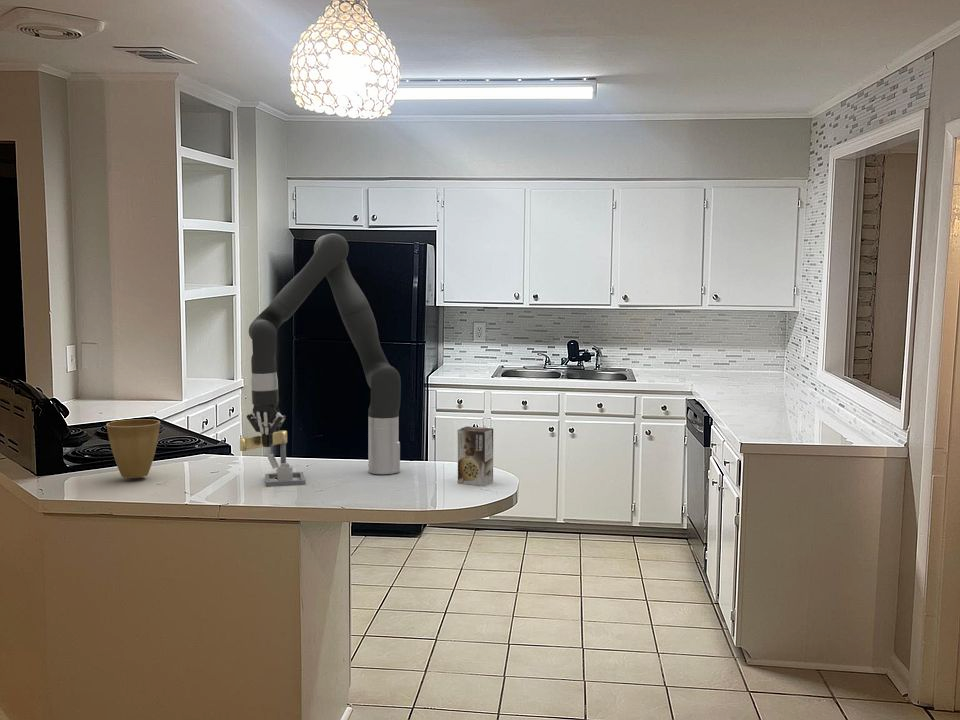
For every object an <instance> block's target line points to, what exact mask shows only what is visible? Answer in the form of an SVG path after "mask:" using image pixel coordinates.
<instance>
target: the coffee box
mask: <svg viewBox="0 0 960 720" xmlns="http://www.w3.org/2000/svg"><path fill="white" fill-rule="evenodd" d="M493 482H494V428H492V427H491V428H490V427H481V426H479V427H478V426H464V427H461V428H459V429H457V484H461V483H462V484H464V485H472V486H481V487H486V486H489V485H490V484H492V483H493Z"/></svg>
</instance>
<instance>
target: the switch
mask: <svg viewBox="0 0 960 720" xmlns="http://www.w3.org/2000/svg"><path fill="white" fill-rule="evenodd" d="M279 445H280V465H281V464H282V463H287V443H281V444H279ZM264 478H265V479H264V480H265V486H266V487H281V486H282V487H283V486H299V485H300V486H302V485H306V478H305V475H304V472H303V471H298V472H297V471H296V472H293V478H299V479H293V480H287V481H277V480H272V481H270V480H271V479H277V469H276V471H275V473H274V472H272V473H265V474H264Z"/></svg>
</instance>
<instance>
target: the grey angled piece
mask: <svg viewBox="0 0 960 720" xmlns="http://www.w3.org/2000/svg"><path fill="white" fill-rule="evenodd" d="M266 457H267V459H268V462H269V463H270V465H271V467H272V469H273V470H274V469H276V470H277V472H276V473H277V478H276V481H287V480H294V479H293V478H294V477H293V470H294V469H293V465H292V466H291V465H290V464H289V463H288V462H286V463H282V464H281V463H280V465H279V463H278V461H277V459H276V456H275V455H274V453H271V454H268V455H267V456H266Z"/></svg>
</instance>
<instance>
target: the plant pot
mask: <svg viewBox="0 0 960 720" xmlns="http://www.w3.org/2000/svg"><path fill="white" fill-rule="evenodd" d="M105 426H106V430H107V431H106V432H107V436H108V441H109V445H110V448H111V453H112V456H113V457H114V462H115V464H116V466H117V469H118V471H119V473H120V474H119V475H120V476H121V477H122V478H126V479H135V478H137V479H138V478H142V477H147V476H148V475H149V472H150V470H151V467H152V465H153V461H154V458H155V454H156V450H157V445H158V441H159V434H160V427H161V421H160V420H157V419H150V418H149V419H146V418H145V419H144V418H143V419H142V418H141V419H140V418H139V419H138V418H137V419H135V418H134V419H123V420H121V419H120V420H116V421H110V422H107V423H106V425H105Z"/></svg>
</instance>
